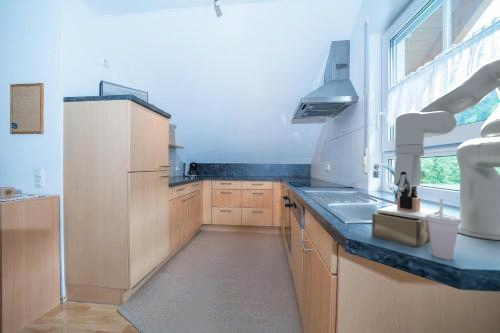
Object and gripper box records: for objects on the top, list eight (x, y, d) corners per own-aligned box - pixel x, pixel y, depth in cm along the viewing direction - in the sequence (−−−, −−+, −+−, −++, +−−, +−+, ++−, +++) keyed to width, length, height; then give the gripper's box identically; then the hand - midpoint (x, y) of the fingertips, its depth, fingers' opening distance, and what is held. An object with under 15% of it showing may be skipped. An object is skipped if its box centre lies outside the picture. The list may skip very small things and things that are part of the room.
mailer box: (391, 227, 77) (392, 208, 77) (435, 236, 67) (435, 214, 67) (372, 236, 67) (372, 213, 67) (419, 248, 57) (419, 222, 57)
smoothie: (445, 251, 55) (446, 197, 55) (468, 262, 49) (469, 201, 49) (419, 250, 56) (419, 196, 56) (438, 261, 49) (439, 200, 49)
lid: (395, 206, 79) (396, 194, 79) (439, 213, 70) (439, 198, 70) (376, 212, 69) (377, 197, 69) (424, 220, 60) (425, 202, 60)
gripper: (404, 153, 78) (403, 203, 78) (385, 150, 67) (385, 208, 67) (430, 152, 72) (430, 206, 72) (415, 149, 61) (414, 213, 61)
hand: (408, 207), depth 69 cm, fingers closed on lid, 4 cm apart
